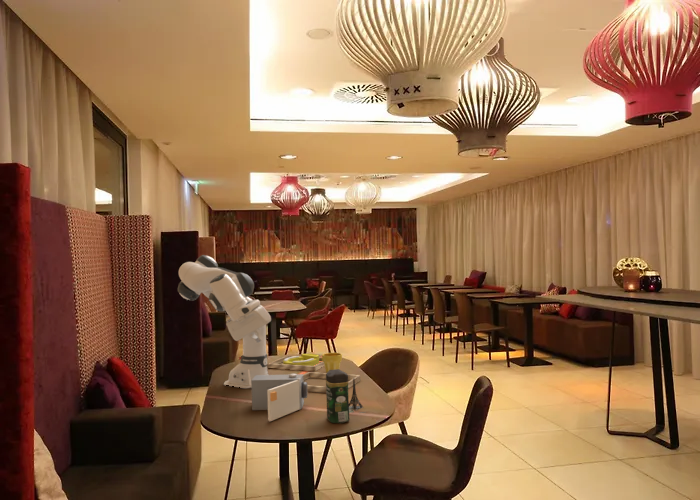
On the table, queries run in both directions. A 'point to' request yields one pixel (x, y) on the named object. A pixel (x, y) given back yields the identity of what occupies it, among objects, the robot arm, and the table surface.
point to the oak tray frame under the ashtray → (294, 367)
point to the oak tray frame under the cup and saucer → (323, 375)
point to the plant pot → (332, 361)
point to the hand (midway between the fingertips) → (260, 341)
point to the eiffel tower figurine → (354, 401)
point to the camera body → (271, 381)
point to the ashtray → (302, 360)
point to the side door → (284, 399)
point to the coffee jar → (337, 396)
